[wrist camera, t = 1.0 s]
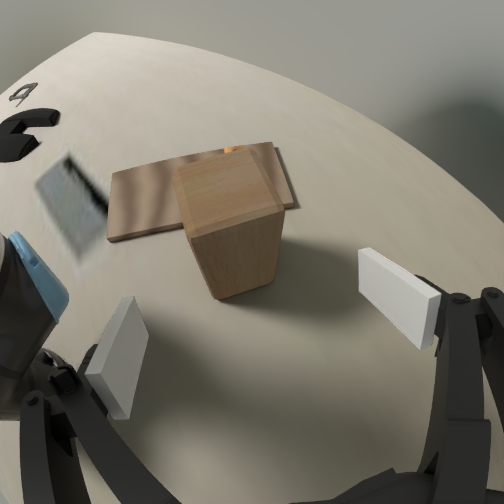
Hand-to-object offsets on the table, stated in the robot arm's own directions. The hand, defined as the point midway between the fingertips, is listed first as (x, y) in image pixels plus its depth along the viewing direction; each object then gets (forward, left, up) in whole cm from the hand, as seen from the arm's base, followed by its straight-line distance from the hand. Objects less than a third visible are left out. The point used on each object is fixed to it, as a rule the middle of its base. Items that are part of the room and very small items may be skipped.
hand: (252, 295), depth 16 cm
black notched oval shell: (-68, +77, -28) cm, 107 cm away
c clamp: (-85, +117, -28) cm, 148 cm away
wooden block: (0, +14, -28) cm, 31 cm away
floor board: (-5, +31, -27) cm, 42 cm away
